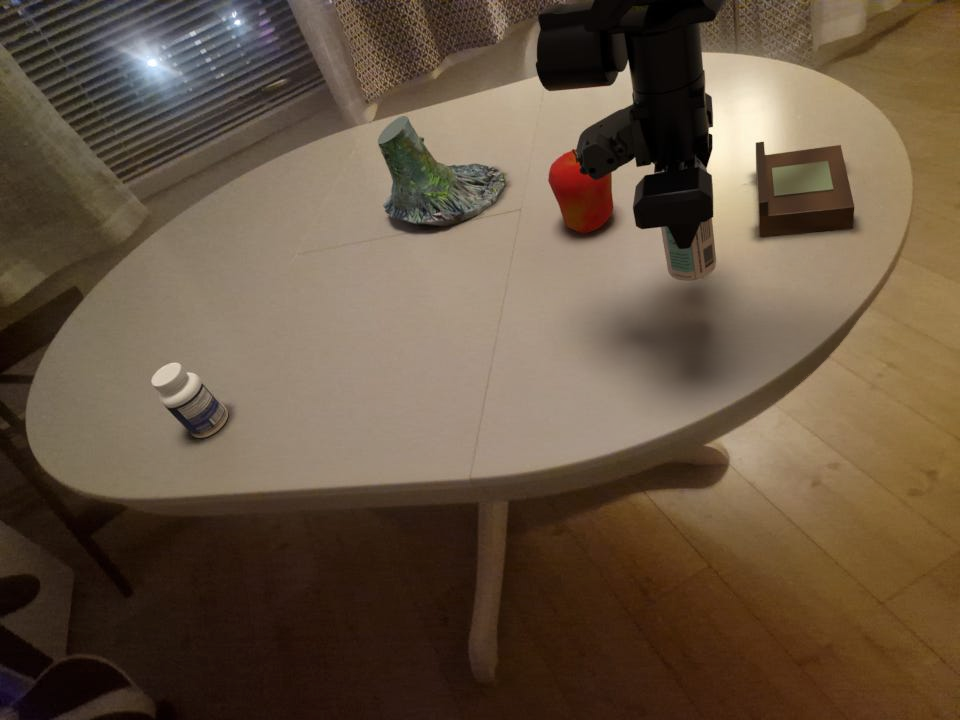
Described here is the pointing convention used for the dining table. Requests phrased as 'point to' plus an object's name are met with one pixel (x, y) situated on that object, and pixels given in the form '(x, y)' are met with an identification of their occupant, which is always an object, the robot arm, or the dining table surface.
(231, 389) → the dining table surface
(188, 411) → the pill bottle
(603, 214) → the apple
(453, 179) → the tree stump
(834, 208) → the brown rectangular block
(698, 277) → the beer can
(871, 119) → the dining table surface
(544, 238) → the dining table surface
